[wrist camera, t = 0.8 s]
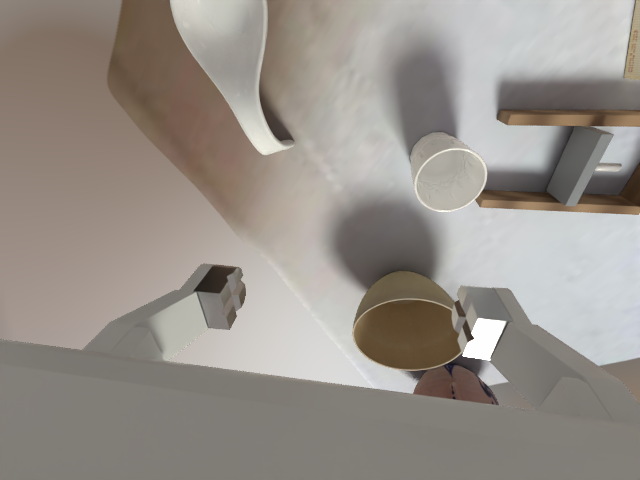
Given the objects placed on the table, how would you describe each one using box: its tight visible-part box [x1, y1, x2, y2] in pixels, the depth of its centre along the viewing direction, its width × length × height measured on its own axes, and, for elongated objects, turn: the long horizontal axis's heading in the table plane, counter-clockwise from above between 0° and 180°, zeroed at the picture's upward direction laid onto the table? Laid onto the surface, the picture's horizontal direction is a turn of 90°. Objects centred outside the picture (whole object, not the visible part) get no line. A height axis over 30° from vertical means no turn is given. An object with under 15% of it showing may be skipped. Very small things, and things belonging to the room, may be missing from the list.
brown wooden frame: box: [475, 110, 640, 215], centre depth 36 cm, size 21×12×6 cm, turn 91°
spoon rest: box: [170, 0, 295, 155], centre depth 35 cm, size 24×12×7 cm, turn 19°
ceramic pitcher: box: [413, 364, 499, 405], centre depth 58 cm, size 18×21×25 cm
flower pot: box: [353, 271, 462, 371], centre depth 51 cm, size 18×18×12 cm
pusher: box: [546, 126, 622, 206], centre depth 36 cm, size 5×9×5 cm, turn 1°
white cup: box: [410, 132, 487, 212], centre depth 37 cm, size 8×8×10 cm
